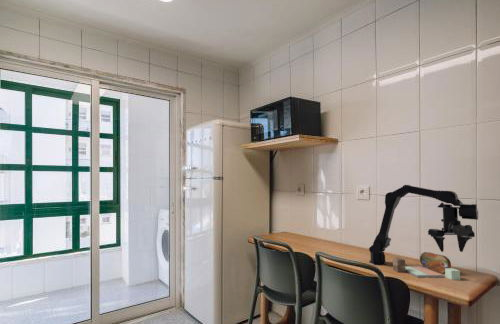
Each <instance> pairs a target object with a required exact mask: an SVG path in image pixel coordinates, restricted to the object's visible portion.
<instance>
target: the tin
mask: <svg viewBox="0 0 500 324" xmlns="http://www.w3.org/2000/svg"><path fill="white" fill-rule="evenodd" d="M419 261H420V262H419V263H420V264H421V266H423V267H425V268H427V269H430V270H432V271H434V272H436V273H439V274H445V268H452V263H451V260H450V259H449V257H447V256H445V255H443V254H438V253H433V252H430V251H429V252H426V251H424V252H422V253H421V254H420V256H419Z"/></svg>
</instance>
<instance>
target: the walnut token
mask: <svg viewBox="0 0 500 324" xmlns="http://www.w3.org/2000/svg"><path fill="white" fill-rule="evenodd" d="M405 266H406V259H404V258H402V257H392V270H393V272H396V273H406V271H405Z"/></svg>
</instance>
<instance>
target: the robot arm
mask: <svg viewBox="0 0 500 324" xmlns="http://www.w3.org/2000/svg"><path fill="white" fill-rule="evenodd" d="M408 194H413V195H417V196H422V197H429V198H432V199H436V200H437V201H440V202H441V203H440V204H439V205H437V208H441V209H442V218H441V222H442V224H443V227H442V228H441V229H438V228H429V229H428V231H427V236H430V237H432V238H433V240H434V241H435V243H436V245H437V246H438V248H439V250H440V252H441V253H443V252H444V250H445V249H444V240H445V239H446V238H445V236H456V238H457V244H458V250H459V252H461V253H462V252H463V251H464V249H465V247H466V245H467V242H468V241H469V240H472V239H473V238H475V237H476V236H475V234H476V233H475V232H474V230H473V226H472V225H470V224H465V225H464V224H463V225H462V223H461V220H459V217H461V219H463V220H464V219H465V220H477V221H478V220H479V211H478V205H477V204H475V203H474V204H473V203H472V204H466V203H463V202H462V201H461V200H460V199H459V196H458V194H457V193H456V192H455V191H453V190H436V189H435V190H434V189H431V188H430V189H429V188H423V187H418V186H413V185H410V184H404V185H402V186H401V187H399V188H398V189H395V190H393V191H390V192H387V193H386V194H385V196H384V204H385V208H384V212H383V215H382V216H383V217H382V219H381V225H380V229H379V232H378V234H377V235H376V236H375V239H374V241H373V242H372V243H373V244H372V245H371V246H370V247H368V250H369V252H370V260H369V263H371V264H373V265H379V266H380V265H381V266H382V265H385V266H386V265H387V263H386V254H385V250H386V249H388V247H390V245H391V241H392V238H390V237H389V232H390V229H391V225H392V220H393V217H394V213H395V210H396V209H397V207H398V205H399V204H400V201H401V199H402V198H404V197H405V196H406V195H408Z"/></svg>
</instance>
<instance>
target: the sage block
mask: <svg viewBox="0 0 500 324" xmlns="http://www.w3.org/2000/svg"><path fill="white" fill-rule="evenodd" d="M444 276H445V278H446V279H449V280H451V279H452V280H453V281H461V270H459V269H456V268H452V267H451V268H445V273H444ZM452 280H451V281H452Z"/></svg>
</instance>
